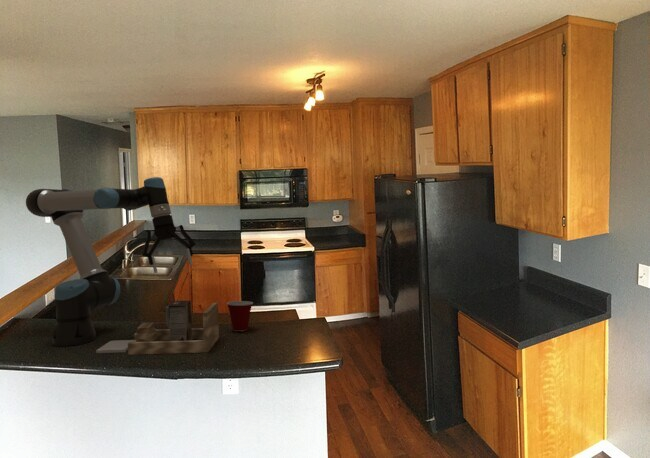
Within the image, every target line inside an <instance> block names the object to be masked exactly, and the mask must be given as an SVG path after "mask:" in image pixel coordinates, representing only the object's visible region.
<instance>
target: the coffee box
mask: <svg viewBox="0 0 650 458" xmlns="http://www.w3.org/2000/svg"><path fill="white" fill-rule="evenodd" d="M168 306H169V328H170V340H169V341H187V340H192V328H193V323H192V322H193V321H192V301H191V300H174V301H172V303H170V305H168ZM169 328H168V329H169Z"/></svg>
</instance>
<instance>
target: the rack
mask: <svg viewBox="0 0 650 458" xmlns="http://www.w3.org/2000/svg"><path fill="white" fill-rule="evenodd" d="M202 324H203V325H202V327H199V328H198V327H197V328H196V327H195V328H194V327H192V340H187V341H170V329H169V328H167V329H165V328H164V329H156V337H157V338H158V341H154V342H129V343H128V350H127V355H129V356H132V355H134V356H136V355H160V354H161V355H162V354H166V355H167V354H168V355H169V354H192V353H193V354H194V353H197V354H198V353H199V354H200V353H209V352H210V351H211V350H212V348H213V347H214V345H215V344H216V342H217V341H218V340H219V339H220V330H219V329H220V328H219V327H220V326H219V324H220V323H219V302H213V303H211V304H210V306H209V307H207V309H205V310H204V311H203V312H202ZM193 339H197V340H193Z"/></svg>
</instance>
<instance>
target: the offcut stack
mask: <svg viewBox="0 0 650 458" xmlns="http://www.w3.org/2000/svg"><path fill="white" fill-rule="evenodd" d="M155 325H156V324H155V322H154V321H153V322H142V323H141V324H140V325H139V326H138V327H136V332H135V333H134V334H133V340H136V342H154V341H158V338H157V337H156V330H157V328H156V327H155Z"/></svg>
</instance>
